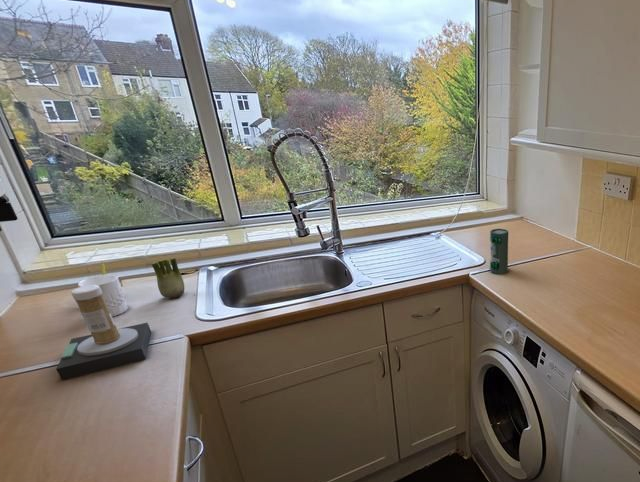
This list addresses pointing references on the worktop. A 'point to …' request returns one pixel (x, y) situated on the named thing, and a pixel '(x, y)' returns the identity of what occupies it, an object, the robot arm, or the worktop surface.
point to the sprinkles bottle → (96, 313)
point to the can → (499, 251)
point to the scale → (104, 352)
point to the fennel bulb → (168, 278)
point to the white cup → (109, 292)
